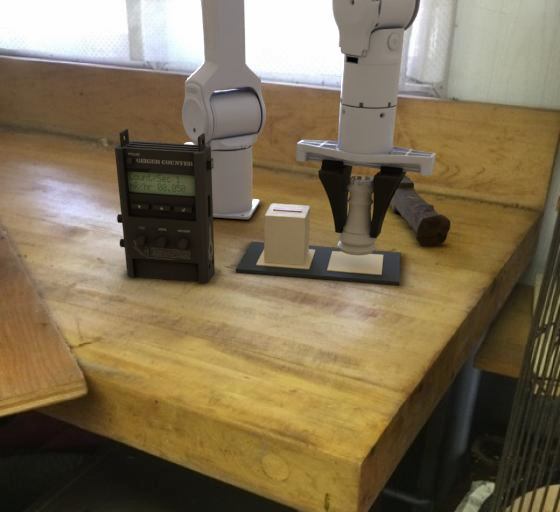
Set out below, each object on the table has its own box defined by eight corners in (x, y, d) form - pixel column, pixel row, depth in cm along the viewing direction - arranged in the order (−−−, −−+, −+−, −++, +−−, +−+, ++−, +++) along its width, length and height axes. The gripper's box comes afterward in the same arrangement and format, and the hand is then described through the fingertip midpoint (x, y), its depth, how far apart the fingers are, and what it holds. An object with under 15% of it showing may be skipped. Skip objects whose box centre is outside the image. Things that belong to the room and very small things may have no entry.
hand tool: (448, 247, 85) (454, 210, 83) (416, 247, 85) (421, 210, 83) (410, 201, 102) (413, 169, 99) (383, 201, 101) (386, 169, 99)
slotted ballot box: (264, 262, 79) (264, 214, 76) (270, 248, 82) (271, 202, 80) (303, 265, 78) (305, 217, 75) (308, 251, 82) (310, 204, 79)
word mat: (235, 272, 77) (235, 268, 77) (251, 244, 85) (251, 240, 85) (399, 285, 75) (399, 281, 75) (400, 255, 83) (400, 251, 82)
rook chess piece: (355, 239, 81) (360, 170, 77) (384, 250, 78) (391, 179, 74) (328, 248, 79) (332, 177, 74) (358, 259, 76) (363, 186, 72)
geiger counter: (114, 279, 75) (98, 135, 67) (129, 264, 79) (116, 126, 71) (209, 288, 73) (204, 141, 66) (219, 271, 77) (215, 131, 70)
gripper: (446, 103, 72) (429, 230, 78) (313, 92, 76) (308, 213, 83) (434, 114, 66) (417, 251, 73) (290, 102, 70) (287, 232, 77)
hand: (358, 232), depth 77 cm, fingers closed on rook chess piece, 3 cm apart
